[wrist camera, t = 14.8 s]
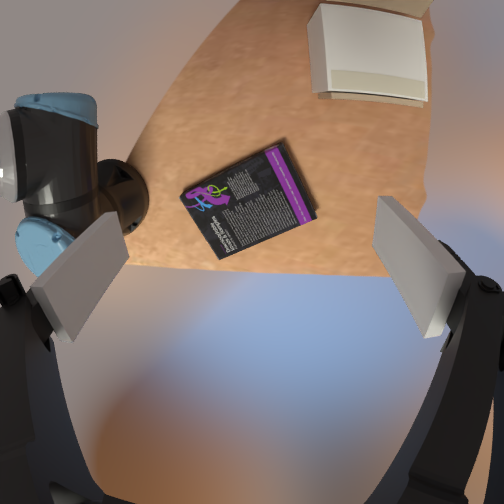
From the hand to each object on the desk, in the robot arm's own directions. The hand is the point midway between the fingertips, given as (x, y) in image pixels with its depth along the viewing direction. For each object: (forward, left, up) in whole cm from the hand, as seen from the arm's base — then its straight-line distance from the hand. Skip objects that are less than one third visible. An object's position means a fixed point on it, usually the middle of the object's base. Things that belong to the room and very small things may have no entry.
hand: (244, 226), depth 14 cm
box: (-2, -11, -35) cm, 37 cm away
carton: (+16, +13, -35) cm, 40 cm away
